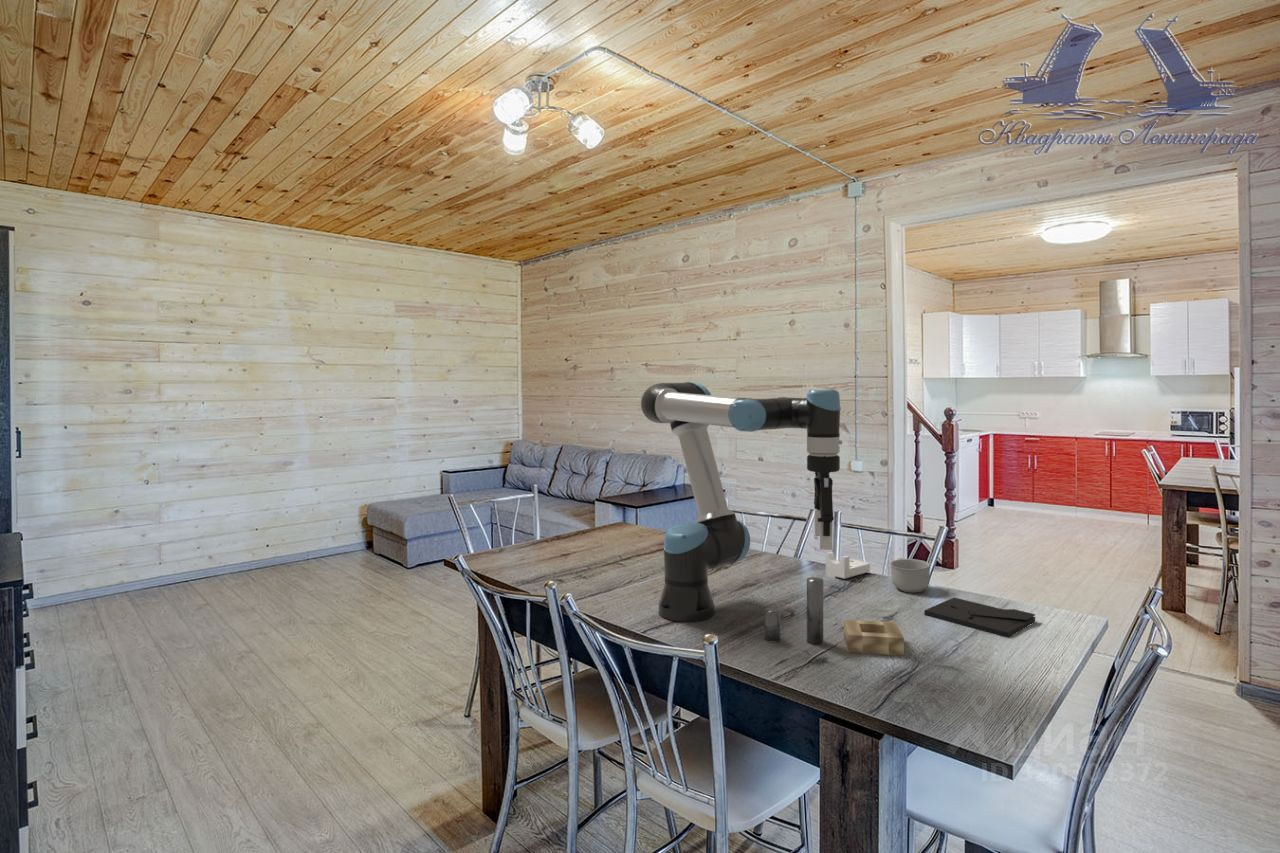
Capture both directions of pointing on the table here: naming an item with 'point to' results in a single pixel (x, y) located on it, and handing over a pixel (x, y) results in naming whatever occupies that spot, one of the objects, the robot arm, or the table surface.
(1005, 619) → the picture frame
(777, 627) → the short pin
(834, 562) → the bracket
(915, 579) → the teacup
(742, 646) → the table surface
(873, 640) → the socket block
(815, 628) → the long pin
